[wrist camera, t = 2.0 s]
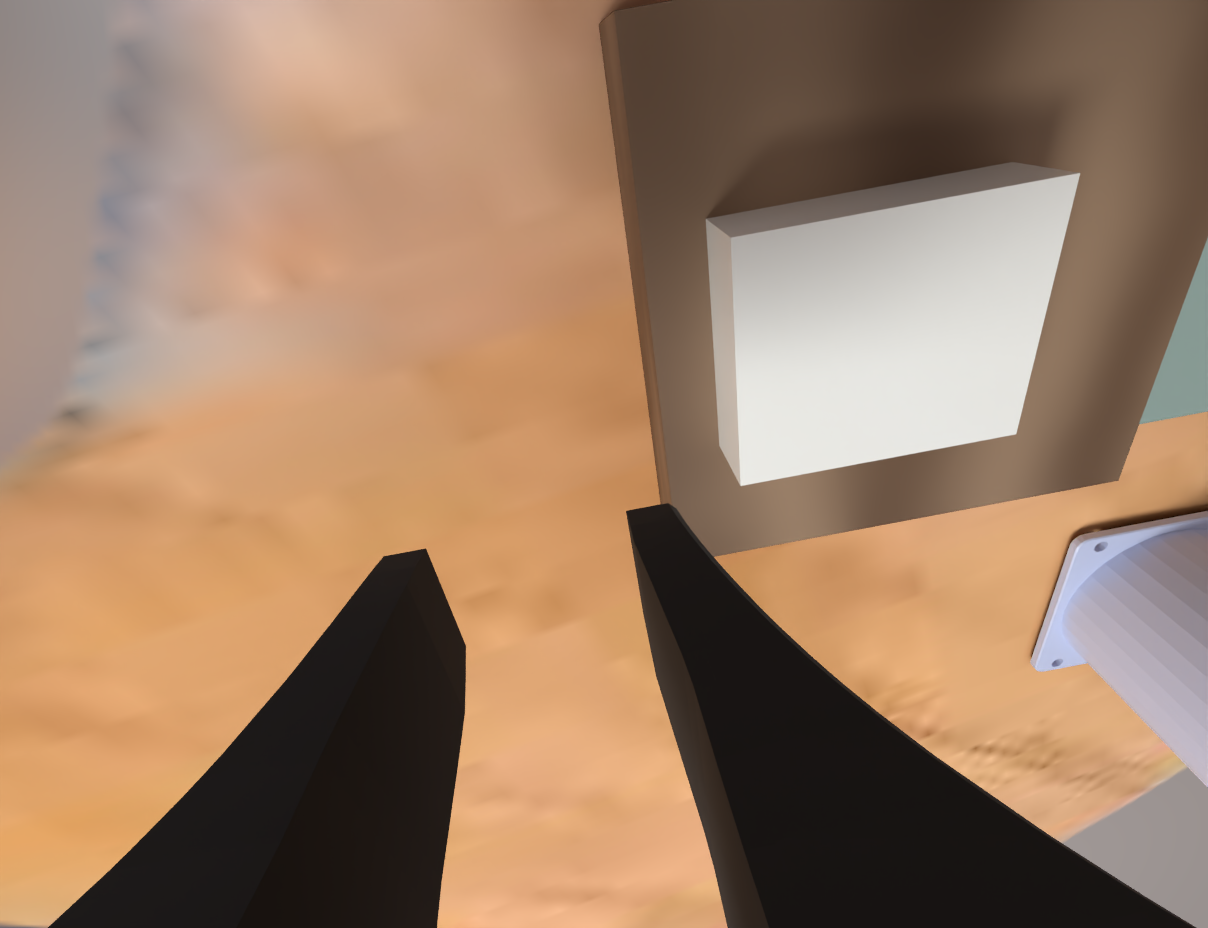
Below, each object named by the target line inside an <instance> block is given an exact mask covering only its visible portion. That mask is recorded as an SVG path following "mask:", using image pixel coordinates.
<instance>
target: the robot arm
mask: <svg viewBox="0 0 1208 928" xmlns="http://www.w3.org/2000/svg"><path fill="white" fill-rule="evenodd" d="M626 513H627V519H628V525H629V531H630V537H631V543H632V549H633V555H634V561H635V567H636V572H637V578H638V584H639V590H640V596H641V602H642V608H643V614H644V619H645V623H646V628H647V633H648V638H649V643H650V648H651V653H652V658H653V662H654V667H655V672H656V677H657V680H658V683H659V686H660V690H661V693H662V696H663V700H664V703H665V706H666V709H667V712H668V716H669V719H670V722H671V725H672V729H673V732H674V735H675V738H676V742H677V745H678V748H679V751H680V754H681V758H682V761H683V764H684V767H685V771H686V774H687V777H688V780H689V783H690V787H691V790H692V793H693V796H694V800H695V803H696V806H697V809H698V812H699V816H700V819H701V822H702V825H703V829H704V832H705V836H706V839H707V843H708V847H709V850H710V854H711V858H712V861H713V865H714V869H715V873H716V877H717V882H718V886H719V891H720V895H721V900H722V904H723V908H724V913H725V917H726V922H727V926H728V928H1196V927H1194V926H1192V925H1191V924H1189V923H1187V922H1186V921H1184V920H1183V919H1181V918H1180V917H1178V916H1176V915H1175V914H1173V913H1171V912H1170V911H1168V910H1166V909H1165V908H1163V907H1161V906H1160V905H1158V904H1156V903H1155V902H1153V901H1151V900H1150V899H1148V898H1147V897H1145V896H1143V895H1142V894H1140V893H1139V892H1137V891H1135V890H1134V889H1132V888H1131V887H1129V886H1128V885H1126V884H1125V883H1123V882H1121V881H1120V880H1118V879H1117V878H1115V877H1114V876H1112V875H1111V874H1109V873H1107V872H1106V871H1104V870H1103V869H1101V868H1100V867H1098V866H1097V865H1095V864H1093V863H1092V862H1090V861H1089V860H1087V859H1086V858H1084V857H1082V856H1081V855H1079V854H1078V853H1076V852H1075V851H1073V850H1071V849H1070V848H1068V847H1067V846H1065V845H1064V844H1062V843H1061V842H1059V841H1057V840H1056V839H1054V838H1053V837H1051V836H1050V835H1048V834H1047V833H1045V832H1044V831H1042V830H1041V829H1039V828H1038V827H1037V826H1035V825H1034V824H1032V823H1031V822H1029V821H1028V820H1026V819H1025V818H1024V817H1022V816H1021V815H1019V814H1018V813H1016V812H1015V811H1014V810H1012V809H1011V808H1009V807H1008V806H1006V805H1005V804H1003V803H1002V802H1001V801H999V800H998V799H996V798H995V797H993V796H992V795H990V794H989V793H988V792H986V791H985V790H983V789H982V788H980V787H979V786H977V785H976V784H975V783H973V782H972V781H970V780H969V779H967V778H966V777H964V776H963V775H962V774H960V773H959V772H957V771H956V770H954V769H953V768H952V767H950V766H949V765H947V764H946V763H944V762H943V761H941V760H940V759H939V758H937V757H936V756H934V755H933V754H932V753H930V752H929V751H928V750H926V749H925V748H924V747H922V746H921V745H920V744H918V743H917V742H916V741H915V740H913V739H912V738H911V737H909V736H908V735H907V734H905V733H904V732H903V731H901V730H900V729H899V728H898V727H896V726H895V725H894V724H892V723H891V722H890V721H888V720H887V719H886V718H884V717H883V716H882V715H881V714H879V713H878V712H877V711H876V710H874V709H873V708H872V707H871V706H870V705H868V704H867V703H866V702H865V701H863V700H862V699H861V698H860V697H858V696H857V695H856V694H855V693H854V692H852V691H851V690H850V689H849V688H847V687H846V686H845V685H844V684H843V683H841V682H840V681H839V680H838V679H837V678H836V677H834V676H833V675H832V674H831V673H830V672H829V671H827V670H826V669H825V668H824V667H823V666H822V665H821V664H819V663H818V662H817V661H816V660H815V659H814V658H813V657H812V656H810V655H809V654H808V653H807V652H806V651H805V650H804V649H803V648H802V647H801V646H800V645H799V644H797V643H796V642H795V641H794V640H793V639H792V638H791V637H790V636H789V635H788V634H787V633H786V632H785V631H784V630H782V629H781V628H780V627H779V626H778V625H777V624H776V623H775V622H774V621H773V620H772V619H771V618H770V617H769V616H768V615H767V614H766V613H765V612H764V611H763V610H762V609H761V608H760V607H759V606H758V605H757V604H756V603H755V602H754V601H753V600H752V599H751V597H750V596H749V595H748V594H747V593H746V592H745V591H744V590H743V589H742V588H741V587H740V586H739V585H738V584H737V583H736V582H735V581H734V580H733V578H732V577H731V576H730V575H729V574H728V573H727V572H726V571H725V570H724V569H723V567H722V566H721V565H720V564H719V563H718V562H717V561H716V559H715V558H714V557H713V556H712V555H711V553H710V552H709V551H708V550H707V549H706V548H705V546H704V545H703V544H702V543H701V541H700V540H699V539H698V538H697V536H696V535H695V534H694V533H693V531H692V530H691V529H690V527H689V526H688V525H687V523H686V522H685V520H684V519H683V517H682V516H681V515H680V513H679V511H678V510H677V508H675V507H674V506H672V505H671V504H669V503H666V504H661V505H655V506H650V507H645V508H639V509H634V510H629V511H626ZM1085 663H1088V664H1089V665H1090V666H1091V667H1092V668H1093V669H1094V670H1095V671H1096V672H1097V673H1098V674H1099V675H1100V677H1101V678H1102V679H1103V680H1104V681H1105V682H1106V683H1107V684H1108V685H1109V686H1110V687H1111V688H1112V689H1113V690H1114V691H1115V692H1116V693H1117V694H1118V695H1119V696H1120V697H1121V698H1122V699H1123V700H1124V701H1125V702H1126V703H1127V704H1128V706H1129V707H1130V708H1131V709H1132V710H1133V711H1134V712H1135V713H1136V714H1137V715H1138V716H1139V717H1140V718H1141V719H1142V720H1143V721H1144V722H1145V723H1146V724H1147V725H1148V726H1149V727H1150V728H1151V729H1152V730H1153V731H1154V732H1155V734H1156V735H1157V736H1158V737H1159V738H1160V739H1161V740H1162V741H1163V742H1164V743H1165V744H1166V745H1167V746H1168V747H1169V748H1170V749H1171V750H1172V751H1173V752H1174V753H1175V754H1176V755H1177V756H1178V757H1179V758H1180V759H1181V760H1182V762H1183V763H1184V764H1185V765H1186V766H1187V767H1188V768H1189V769H1190V770H1191V771H1192V772H1193V773H1194V774H1195V775H1196V776H1197V777H1198V778H1199V779H1200V780H1201V781H1202V782H1203V783H1204V784H1205V785H1206V786H1207V787H1208V511H1203V512H1198V513H1193V514H1188V515H1182V516H1177V517H1172V518H1166V519H1161V520H1156V521H1150V522H1145V523H1140V524H1135V525H1129V526H1124V527H1119V528H1113V529H1108V530H1103V531H1097V532H1092V533H1087V534H1083V535H1080V536H1078V537H1076V538H1075V539H1074V540H1073V541H1072V542H1071V544H1070V546H1069V549H1068V552H1067V555H1066V558H1065V561H1064V564H1063V567H1062V570H1061V573H1060V576H1059V579H1058V581H1057V584H1056V587H1055V590H1054V593H1053V596H1052V599H1051V602H1050V605H1049V608H1048V611H1047V614H1046V617H1045V620H1044V623H1043V626H1042V629H1041V632H1040V634H1039V637H1038V640H1037V643H1036V646H1035V649H1034V652H1033V655H1032V658H1031V665H1032V666H1033V667H1034V668H1035V669H1036V670H1037V671H1049V670H1054V669H1059V668H1064V667H1070V666H1075V665H1080V664H1085ZM465 683H466V645H465V643H464V640H463V638H462V636H461V633H460V631H459V628H458V626H457V623H456V621H455V618H454V616H453V614H452V611H451V609H450V606H449V604H448V601H447V599H446V597H445V594H444V592H443V589H442V587H441V584H440V582H439V579H438V577H437V575H436V572H435V570H434V567H433V565H432V562H431V560H430V557H429V555H428V553H427V550H426V549H421V550H416V551H411V552H405V553H400V554H395V555H389V556H384V557H383V558H382V559H381V561H380V562H379V563H378V564H377V565H376V567H375V568H374V569H373V570H372V571H371V573H370V574H369V575H368V577H367V578H366V579H365V580H364V582H363V583H362V584H361V586H360V587H359V588H358V589H357V591H356V592H355V593H354V595H353V596H352V597H351V599H350V600H349V601H348V602H347V604H346V605H345V606H344V608H343V609H342V610H341V612H340V613H339V614H338V615H337V617H336V618H335V619H334V621H333V622H332V623H331V624H330V626H329V627H328V628H327V630H326V631H325V632H324V633H323V635H322V636H321V637H320V638H319V640H318V641H317V642H316V643H315V645H314V646H313V647H312V648H311V650H310V651H309V652H308V653H307V655H306V656H305V657H304V658H303V660H302V661H301V662H300V664H299V665H298V666H297V667H296V669H295V670H294V671H293V672H292V674H291V675H290V676H289V677H288V678H287V680H286V681H285V682H284V683H283V684H282V686H281V687H280V688H279V689H278V690H277V691H276V693H275V694H274V695H273V696H272V697H271V698H270V700H269V701H268V702H267V703H266V704H265V705H264V706H263V708H262V709H261V710H260V711H259V712H258V713H257V715H256V716H255V717H254V718H253V719H252V720H251V722H250V723H249V724H248V725H247V726H246V727H245V729H244V730H243V731H242V732H241V733H240V734H239V735H238V737H237V738H236V739H235V740H234V741H233V742H232V744H231V745H230V746H229V747H228V748H227V749H226V751H225V752H224V753H223V754H222V755H221V756H220V757H219V758H218V760H217V761H216V762H215V763H214V764H213V765H212V766H211V767H210V768H209V769H208V771H207V772H206V773H205V774H204V775H203V776H202V777H201V778H200V779H199V780H198V781H197V782H196V783H195V784H194V785H193V787H192V788H191V789H190V790H189V791H188V792H187V793H186V794H185V795H184V796H183V797H182V798H181V799H180V800H179V801H178V802H177V803H176V804H175V805H174V806H173V807H172V808H171V809H170V811H169V812H168V813H167V814H166V815H165V816H164V817H163V818H162V819H161V820H160V821H159V822H158V823H157V824H156V825H155V826H154V827H153V828H152V829H151V830H150V831H149V832H148V833H147V834H146V835H145V836H144V837H143V838H142V839H141V840H140V841H139V842H138V843H137V844H136V845H135V846H134V847H133V848H132V849H131V850H130V851H129V852H128V853H127V854H126V855H125V856H124V857H123V858H122V859H121V860H120V861H119V862H118V863H117V864H116V865H115V866H114V867H113V868H112V869H111V870H110V871H109V872H107V873H106V874H105V875H104V876H103V877H102V878H101V879H100V880H99V881H98V882H97V883H96V884H95V885H93V886H92V887H91V888H90V889H89V890H88V891H87V892H86V893H85V894H84V895H83V896H82V897H80V898H79V899H78V900H77V901H76V902H75V903H74V904H73V905H72V906H71V907H70V908H69V909H68V910H66V911H65V912H64V913H63V914H62V915H61V916H60V917H59V918H58V919H57V920H56V921H55V922H54V923H52V924H51V925H50V926H49V927H48V928H437V920H438V910H439V900H440V890H441V881H442V874H443V867H444V860H445V852H446V845H447V838H448V831H449V824H450V817H451V810H452V803H453V796H454V789H455V782H456V775H457V767H458V760H459V753H460V745H461V738H462V730H463V722H464V714H465Z"/></svg>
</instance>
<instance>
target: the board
mask: <svg viewBox="0 0 1208 928" xmlns="http://www.w3.org/2000/svg"><path fill="white" fill-rule="evenodd" d="M599 30H600V37H601V45H602V53H603V61H604V68H605V76H606V84H607V92H608V99H609V107H610V115H611V123H612V130H613V138H614V146H615V154H616V161H617V169H618V177H619V184H620V192H621V200H622V208H623V215H624V223H625V231H626V239H627V246H628V254H629V262H630V270H631V277H632V285H633V293H634V301H635V308H636V316H637V324H638V332H639V339H640V347H641V355H642V363H643V370H644V378H645V386H646V394H647V401H648V409H649V417H650V425H651V432H652V440H653V448H654V456H655V463H656V471H657V479H658V486H659V494H660V502H661V504H666V503H669V504H671V505H672V506H674V507H675V508H677V510H678V511H679V513H680V515H681V516H682V517H683V519H684V520H685V522H686V523H687V525H688V526H689V527H690V529H691V530H692V531H693V533H694V534H695V535H696V536H697V538H698V539H699V540H700V541H701V543H702V544H703V545H704V546H705V548H706V549H707V550H708V551H709V552H710V553H711V555H712V556H713V557H715V556H720V555H725V554H731V553H736V552H741V551H747V550H752V549H757V548H763V547H768V546H773V545H779V544H784V543H789V542H794V541H800V540H805V539H810V538H816V537H821V536H826V535H832V534H837V533H842V532H848V531H853V530H858V529H863V528H869V527H874V526H879V525H885V524H890V523H895V522H901V521H906V520H911V519H917V518H922V517H927V516H933V515H938V514H943V513H948V512H954V511H959V510H964V509H970V508H975V507H980V506H986V505H991V504H996V503H1002V502H1007V501H1012V500H1017V499H1023V498H1028V497H1033V496H1039V495H1044V494H1049V493H1055V492H1060V491H1065V490H1071V489H1076V488H1081V487H1086V486H1092V485H1097V484H1102V483H1108V482H1113V481H1118V480H1119V477H1120V474H1121V472H1122V469H1123V466H1124V464H1125V461H1126V458H1127V455H1128V453H1129V450H1130V447H1131V445H1132V442H1133V439H1134V436H1135V434H1136V431H1137V428H1138V426H1139V423H1140V420H1141V417H1142V415H1143V412H1144V409H1145V407H1146V404H1147V401H1148V398H1149V396H1150V393H1151V390H1152V388H1153V385H1154V382H1155V379H1156V377H1157V374H1158V371H1159V369H1160V366H1161V363H1162V360H1163V358H1164V355H1165V352H1166V350H1167V347H1168V344H1169V341H1170V339H1171V336H1172V333H1173V331H1174V328H1175V325H1176V322H1177V320H1178V317H1179V314H1180V312H1181V309H1182V306H1183V303H1184V301H1185V298H1186V295H1187V293H1188V290H1189V287H1190V284H1191V282H1192V279H1193V276H1194V274H1195V271H1196V268H1197V265H1198V263H1199V260H1200V257H1201V255H1202V252H1203V249H1204V246H1205V244H1206V241H1207V238H1208V0H671V1H666V2H661V3H655V4H650V5H644V6H639V7H633V8H628V9H622V10H617V11H614V12H612V13H611V14H610V15H609V16H608V17H607V18H606V19H604V20H603V21H602V22H601V23H600V24H599ZM1009 162H1016V163H1022V164H1028V165H1034V166H1041V167H1047V168H1053V169H1059V170H1066V171H1072V172H1078V173H1080V176H1079V181H1078V185H1077V189H1076V193H1075V197H1074V201H1073V205H1072V209H1071V213H1070V217H1069V221H1068V225H1067V229H1066V233H1065V238H1064V242H1063V246H1062V250H1061V254H1060V258H1059V262H1058V266H1057V270H1056V274H1055V278H1054V282H1053V286H1052V290H1051V294H1050V299H1049V303H1048V307H1047V311H1046V315H1045V319H1044V323H1043V327H1042V331H1041V335H1040V339H1039V343H1038V347H1037V351H1036V356H1035V360H1034V364H1033V368H1032V372H1031V376H1030V380H1029V384H1028V388H1027V392H1026V396H1025V400H1024V404H1023V408H1022V413H1021V417H1020V421H1019V425H1018V429H1017V433H1016V434H1015V435H1010V436H1005V437H999V438H994V439H989V440H983V441H978V442H973V443H967V444H962V445H957V446H951V447H946V448H941V449H935V450H930V451H925V452H919V453H914V454H909V455H903V456H898V457H893V458H887V459H882V460H877V461H872V462H866V463H861V464H856V465H850V466H845V467H840V468H834V469H829V470H824V471H818V472H813V473H808V474H802V475H797V476H792V477H786V478H781V479H776V480H770V481H765V482H760V483H754V484H749V485H744V486H740V484H739V482H738V480H737V478H736V476H735V475H734V473H733V471H732V469H731V467H730V465H729V463H728V461H727V459H726V457H725V456H724V454H723V452H722V450H721V448H720V446H719V431H718V414H717V398H716V381H715V364H714V348H713V331H712V315H711V298H710V281H709V265H708V248H707V232H706V219H707V218H713V217H718V216H724V215H729V214H734V213H740V212H745V211H750V210H756V209H761V208H767V207H772V206H777V205H783V204H788V203H794V202H799V201H804V200H810V199H815V198H821V197H826V196H831V195H837V194H842V193H848V192H853V191H858V190H864V189H869V188H875V187H880V186H885V185H891V184H896V183H902V182H907V181H912V180H918V179H923V178H929V177H934V176H939V175H945V174H950V173H955V172H961V171H966V170H972V169H977V168H982V167H988V166H993V165H999V164H1004V163H1009Z"/></svg>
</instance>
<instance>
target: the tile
mask: <svg viewBox="0 0 1208 928" xmlns="http://www.w3.org/2000/svg"><path fill="white" fill-rule="evenodd" d="M1079 176H1080V173H1078V172H1072V171H1066V170H1059V169H1053V168H1047V167H1041V166H1034V165H1028V164H1022V163H1016V162H1009V163H1004V164H999V165H993V166H988V167H982V168H977V169H972V170H966V171H961V172H955V173H950V174H945V175H939V176H934V177H929V178H923V179H918V180H912V181H907V182H902V183H896V184H891V185H885V186H880V187H875V188H869V189H864V190H858V191H853V192H848V193H842V194H837V195H831V196H826V197H821V198H815V199H810V200H804V201H799V202H794V203H788V204H783V205H777V206H772V207H767V208H761V209H756V210H750V211H745V212H740V213H734V214H729V215H724V216H718V217H713V218H707V219H706V232H707V248H708V265H709V281H710V298H711V315H712V331H713V348H714V364H715V381H716V398H717V414H718V431H719V446H720V448H721V450H722V452H723V454H724V456H725V457H726V459H727V461H728V463H729V465H730V467H731V469H732V471H733V473H734V475H735V476H736V478H737V480H738V482H739V484H740V486H744V485H749V484H754V483H760V482H765V481H770V480H776V479H781V478H786V477H792V476H797V475H802V474H808V473H813V472H818V471H824V470H829V469H834V468H840V467H845V466H850V465H856V464H861V463H866V462H872V461H877V460H882V459H887V458H893V457H898V456H903V455H909V454H914V453H919V452H925V451H930V450H935V449H941V448H946V447H951V446H957V445H962V444H967V443H973V442H978V441H983V440H989V439H994V438H999V437H1005V436H1010V435H1015V434H1016V433H1017V429H1018V425H1019V421H1020V417H1021V413H1022V408H1023V404H1024V400H1025V396H1026V392H1027V388H1028V384H1029V380H1030V376H1031V372H1032V368H1033V364H1034V360H1035V356H1036V351H1037V347H1038V343H1039V339H1040V335H1041V331H1042V327H1043V323H1044V319H1045V315H1046V311H1047V307H1048V303H1049V299H1050V294H1051V290H1052V286H1053V282H1054V278H1055V274H1056V270H1057V266H1058V262H1059V258H1060V254H1061V250H1062V246H1063V242H1064V238H1065V233H1066V229H1067V225H1068V221H1069V217H1070V213H1071V209H1072V205H1073V201H1074V197H1075V193H1076V189H1077V185H1078V181H1079Z"/></svg>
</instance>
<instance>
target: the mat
mask: <svg viewBox="0 0 1208 928" xmlns="http://www.w3.org/2000/svg"><path fill="white" fill-rule="evenodd" d="M1207 411H1208V238H1207V241H1206V244H1205V246H1204V249H1203V252H1202V255H1201V257H1200V260H1199V263H1198V265H1197V268H1196V271H1195V274H1194V276H1193V279H1192V282H1191V284H1190V287H1189V290H1188V293H1187V295H1186V298H1185V301H1184V303H1183V306H1182V309H1181V312H1180V314H1179V317H1178V320H1177V322H1176V325H1175V328H1174V331H1173V333H1172V336H1171V339H1170V341H1169V344H1168V347H1167V350H1166V352H1165V355H1164V358H1163V360H1162V363H1161V366H1160V369H1159V371H1158V374H1157V377H1156V379H1155V382H1154V385H1153V388H1152V390H1151V393H1150V396H1149V398H1148V401H1147V404H1146V407H1145V409H1144V412H1143V415H1142V417H1141V420H1140V423H1139V424H1143V423H1148V422H1154V421H1159V420H1164V419H1170V418H1175V417H1180V416H1186V415H1191V414H1196V413H1202V412H1207Z"/></svg>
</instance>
